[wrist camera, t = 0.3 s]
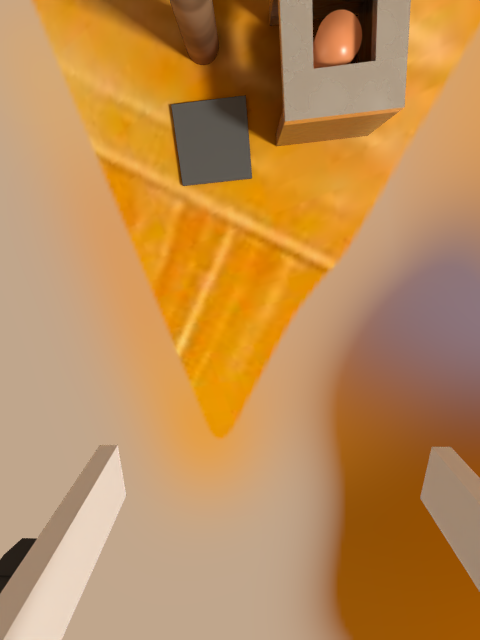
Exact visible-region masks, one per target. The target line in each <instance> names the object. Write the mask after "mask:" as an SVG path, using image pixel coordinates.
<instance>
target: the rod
mask: <svg viewBox="0 0 480 640" xmlns="http://www.w3.org/2000/svg"><path fill="white" fill-rule="evenodd" d="M170 3H171V6H172V9H173V12H174V15H175V17H176V20H177V23H178V26H179V29H180V32H181V35H182V38H183V41H184V44H185V47H186V50H187V53H188V55H189V57H190V58H191V59H192V60H193V61H194V62H195V63H197V64H200V65H206V64H209V63H211V62H212V61H213V60H214V59H215V57H216V56H217V53H218V49H219V41H218V34H217V28H216V21H215V15H214V8H213V2H212V0H170Z"/></svg>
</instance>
